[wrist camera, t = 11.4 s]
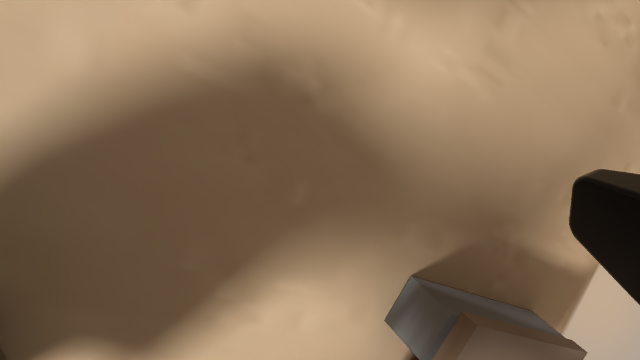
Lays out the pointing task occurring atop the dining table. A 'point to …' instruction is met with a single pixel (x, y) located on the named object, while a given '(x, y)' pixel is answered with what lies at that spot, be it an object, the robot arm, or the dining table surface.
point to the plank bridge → (472, 327)
